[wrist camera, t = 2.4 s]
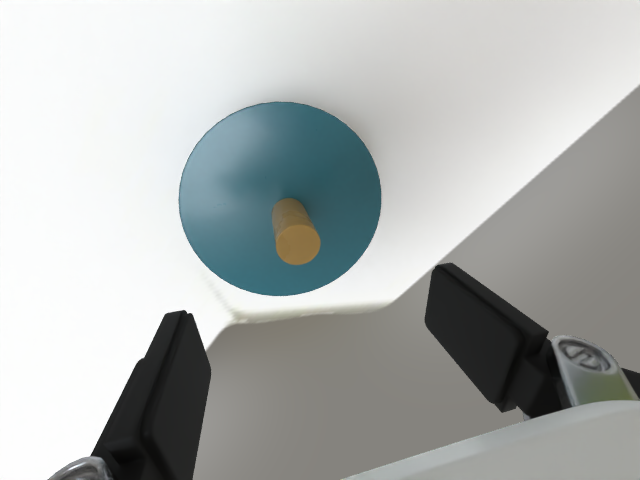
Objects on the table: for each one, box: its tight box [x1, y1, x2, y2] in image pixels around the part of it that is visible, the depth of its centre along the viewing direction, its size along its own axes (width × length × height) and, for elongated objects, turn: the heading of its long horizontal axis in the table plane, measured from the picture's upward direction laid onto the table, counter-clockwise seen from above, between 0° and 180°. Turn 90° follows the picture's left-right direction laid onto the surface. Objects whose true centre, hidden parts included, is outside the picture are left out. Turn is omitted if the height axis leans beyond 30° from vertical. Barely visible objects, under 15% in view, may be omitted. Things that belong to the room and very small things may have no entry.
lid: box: [179, 102, 381, 296], centre depth 18 cm, size 15×15×7 cm
